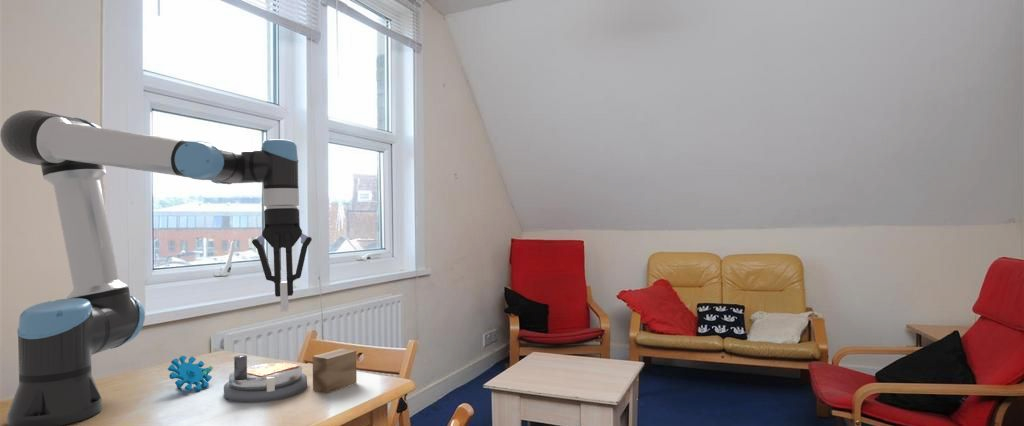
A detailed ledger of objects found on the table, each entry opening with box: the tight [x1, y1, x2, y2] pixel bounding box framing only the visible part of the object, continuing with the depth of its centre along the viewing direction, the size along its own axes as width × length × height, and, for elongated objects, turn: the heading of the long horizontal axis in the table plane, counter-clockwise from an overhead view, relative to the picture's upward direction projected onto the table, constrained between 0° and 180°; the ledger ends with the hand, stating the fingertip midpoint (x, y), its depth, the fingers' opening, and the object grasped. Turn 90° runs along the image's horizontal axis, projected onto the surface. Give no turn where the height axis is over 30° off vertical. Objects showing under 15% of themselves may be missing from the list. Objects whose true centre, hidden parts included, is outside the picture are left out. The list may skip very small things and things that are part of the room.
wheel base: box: [223, 372, 308, 404], centre depth 133 cm, size 18×18×5 cm
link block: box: [312, 347, 358, 394], centre depth 136 cm, size 5×9×8 cm, turn 149°
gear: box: [167, 355, 214, 392], centre depth 135 cm, size 11×6×10 cm
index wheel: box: [228, 354, 303, 391], centre depth 133 cm, size 16×16×7 cm
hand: (284, 310), depth 129 cm, fingers closed
